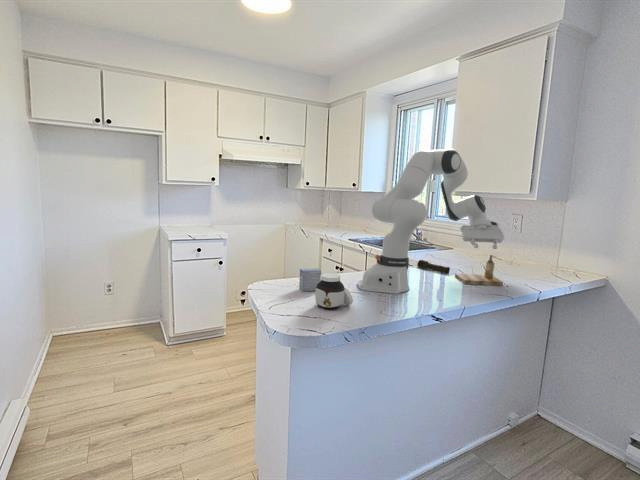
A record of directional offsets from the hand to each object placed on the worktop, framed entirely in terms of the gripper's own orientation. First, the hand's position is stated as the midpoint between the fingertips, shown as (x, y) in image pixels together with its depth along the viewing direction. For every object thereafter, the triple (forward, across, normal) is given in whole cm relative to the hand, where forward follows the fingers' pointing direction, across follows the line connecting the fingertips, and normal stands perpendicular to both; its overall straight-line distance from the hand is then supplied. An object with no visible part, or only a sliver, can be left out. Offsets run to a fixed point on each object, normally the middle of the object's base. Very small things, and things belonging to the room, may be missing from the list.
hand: (485, 247), depth 182 cm
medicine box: (+36, -86, -14) cm, 94 cm away
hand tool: (+3, -23, +19) cm, 30 cm away
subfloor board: (+16, -5, +6) cm, 18 cm away
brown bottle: (+15, 0, +4) cm, 15 cm away
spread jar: (+50, -76, -28) cm, 95 cm away
